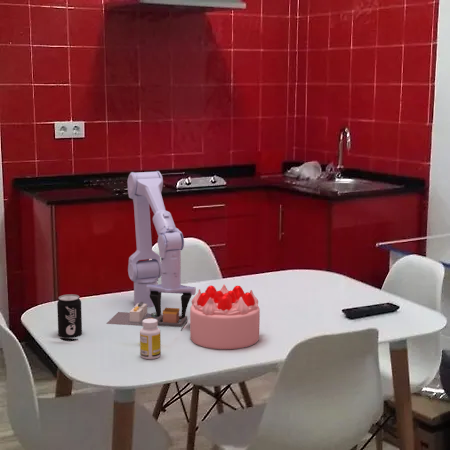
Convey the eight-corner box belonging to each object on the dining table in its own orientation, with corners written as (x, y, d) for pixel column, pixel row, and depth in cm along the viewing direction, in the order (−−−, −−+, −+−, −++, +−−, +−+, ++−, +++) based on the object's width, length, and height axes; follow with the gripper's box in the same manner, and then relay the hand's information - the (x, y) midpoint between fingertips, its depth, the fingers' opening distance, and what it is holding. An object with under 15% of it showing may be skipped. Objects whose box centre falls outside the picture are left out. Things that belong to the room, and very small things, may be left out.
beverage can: (59, 342, 211) (57, 301, 209) (57, 335, 217) (56, 294, 215) (83, 340, 213) (81, 299, 211) (81, 333, 219) (79, 293, 217)
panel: (118, 315, 236) (118, 310, 236) (162, 318, 234) (162, 312, 234) (106, 327, 225) (106, 321, 224) (152, 330, 223) (152, 324, 222)
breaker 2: (133, 317, 231) (133, 305, 230) (143, 317, 230) (142, 306, 230) (129, 321, 227) (129, 309, 226) (139, 321, 226) (139, 310, 226)
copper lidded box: (165, 323, 229) (165, 307, 228) (179, 324, 228) (179, 308, 228) (162, 327, 225) (162, 311, 224) (176, 328, 224) (176, 312, 223)
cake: (189, 350, 206) (189, 299, 204) (191, 327, 226) (191, 281, 223) (261, 350, 207) (262, 300, 204) (257, 327, 226) (257, 281, 224)
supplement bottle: (161, 352, 204) (161, 317, 202) (160, 359, 199) (159, 323, 197) (141, 352, 204) (140, 317, 202) (139, 359, 199) (138, 323, 197)
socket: (161, 321, 231) (161, 314, 231) (187, 322, 230) (187, 316, 230) (154, 329, 223) (154, 322, 223) (181, 330, 222) (181, 324, 222)
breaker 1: (137, 312, 236) (137, 301, 235) (147, 313, 235) (147, 301, 235) (134, 316, 232) (134, 304, 231) (143, 316, 231) (143, 305, 231)
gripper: (143, 274, 221) (143, 319, 223) (192, 276, 219) (192, 321, 221) (149, 268, 228) (150, 312, 230) (197, 270, 226) (197, 314, 228)
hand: (171, 316), depth 226 cm, fingers open, 7 cm apart
